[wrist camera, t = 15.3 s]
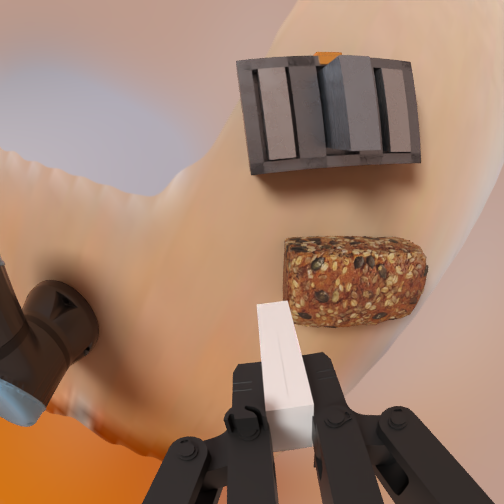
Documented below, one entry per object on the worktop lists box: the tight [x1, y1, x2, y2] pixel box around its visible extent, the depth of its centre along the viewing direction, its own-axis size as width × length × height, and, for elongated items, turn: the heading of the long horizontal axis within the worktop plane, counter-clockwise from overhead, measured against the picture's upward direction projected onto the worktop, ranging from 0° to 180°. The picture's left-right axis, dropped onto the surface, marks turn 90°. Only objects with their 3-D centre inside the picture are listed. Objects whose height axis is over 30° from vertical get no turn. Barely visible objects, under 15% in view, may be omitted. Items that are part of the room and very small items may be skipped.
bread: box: [283, 236, 428, 328], centre depth 38 cm, size 19×11×10 cm, turn 90°
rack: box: [236, 52, 421, 175], centre depth 32 cm, size 21×14×7 cm, turn 97°
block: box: [317, 55, 381, 151], centre depth 28 cm, size 9×3×10 cm, turn 7°
